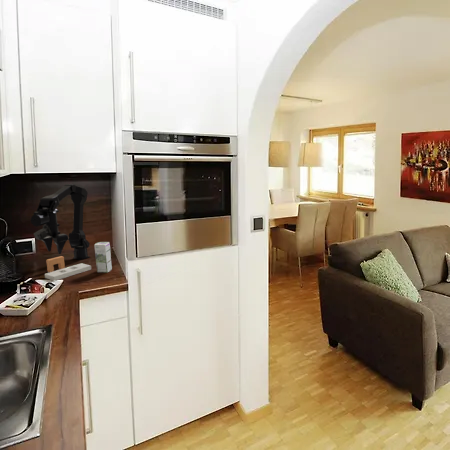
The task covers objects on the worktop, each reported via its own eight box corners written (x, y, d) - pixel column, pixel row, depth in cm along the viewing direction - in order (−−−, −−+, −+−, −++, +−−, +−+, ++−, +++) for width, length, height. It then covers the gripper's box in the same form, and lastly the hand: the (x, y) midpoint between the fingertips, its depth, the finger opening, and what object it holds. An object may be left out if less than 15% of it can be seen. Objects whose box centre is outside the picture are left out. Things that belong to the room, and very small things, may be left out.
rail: (81, 266, 194) (81, 263, 194) (91, 269, 189) (90, 265, 189) (45, 277, 178) (44, 273, 177) (54, 280, 173) (53, 276, 173)
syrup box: (112, 269, 189) (110, 241, 186) (107, 272, 183) (105, 244, 180) (101, 269, 190) (99, 241, 187) (96, 272, 184) (93, 244, 181)
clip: (62, 267, 194) (61, 256, 193) (64, 268, 192) (63, 256, 191) (47, 271, 187) (46, 259, 186) (50, 272, 186) (48, 260, 185)
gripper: (25, 223, 184) (29, 253, 187) (45, 227, 173) (49, 259, 176) (46, 219, 193) (50, 248, 196) (67, 223, 182) (70, 253, 185)
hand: (54, 252), depth 188 cm, fingers open, 9 cm apart
